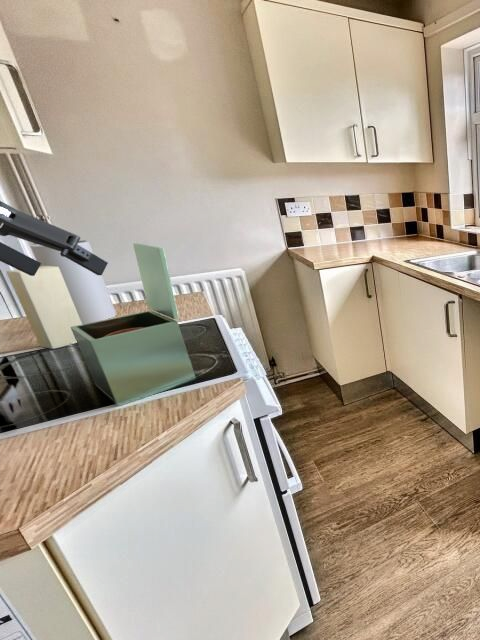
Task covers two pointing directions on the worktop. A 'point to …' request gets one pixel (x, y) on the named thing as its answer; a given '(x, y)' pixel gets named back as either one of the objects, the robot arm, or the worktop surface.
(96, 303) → the cylinder vase
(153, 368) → the green open box
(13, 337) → the worktop surface
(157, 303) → the box lid
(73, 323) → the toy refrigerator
